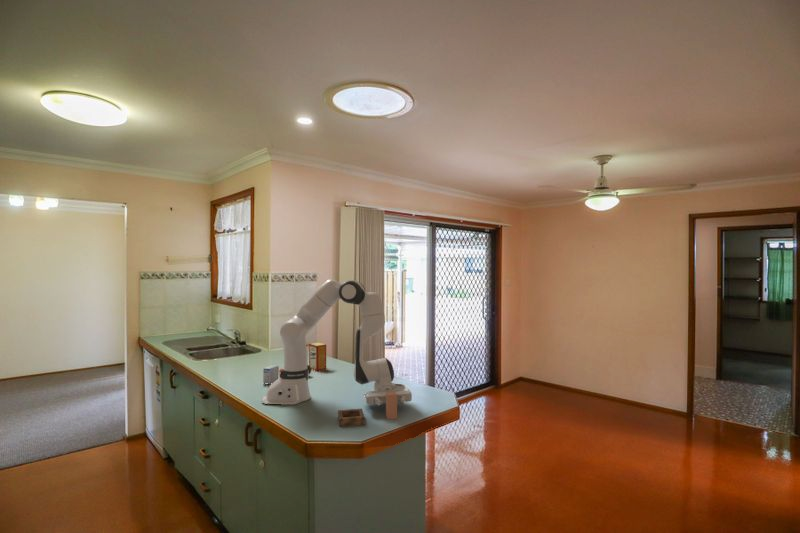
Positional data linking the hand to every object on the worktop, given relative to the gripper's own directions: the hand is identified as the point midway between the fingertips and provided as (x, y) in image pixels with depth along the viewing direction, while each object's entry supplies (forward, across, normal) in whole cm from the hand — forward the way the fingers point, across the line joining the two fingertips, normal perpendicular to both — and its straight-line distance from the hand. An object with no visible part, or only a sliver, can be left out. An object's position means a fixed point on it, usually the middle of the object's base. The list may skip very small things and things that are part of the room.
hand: (391, 402), depth 163 cm
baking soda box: (-88, -31, +6) cm, 94 cm away
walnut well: (+1, -17, +6) cm, 18 cm away
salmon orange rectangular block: (0, 0, +6) cm, 6 cm away
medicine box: (-63, -56, +6) cm, 85 cm away
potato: (-73, -41, +6) cm, 84 cm away
